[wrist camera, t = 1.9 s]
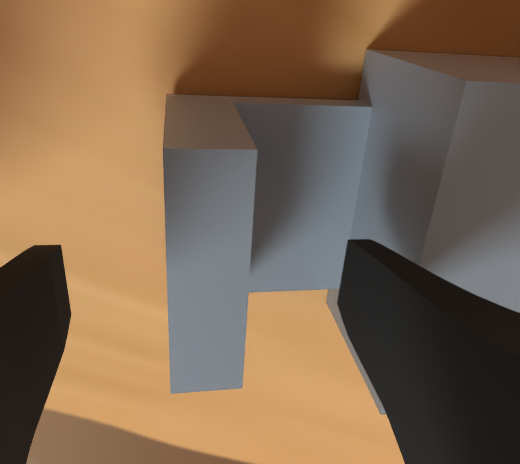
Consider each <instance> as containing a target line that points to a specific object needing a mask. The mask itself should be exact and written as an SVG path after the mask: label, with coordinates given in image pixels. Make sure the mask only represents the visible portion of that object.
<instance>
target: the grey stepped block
mask: <svg viewBox="0 0 520 464" xmlns="http://www.w3.org/2000/svg"><path fill="white" fill-rule="evenodd" d="M163 168H164V199H165V230H166V262H167V293H168V324H169V355H170V387H171V394H174V393H187V392H200V391H213V390H226V389H239V388H242V386H243V370H244V354H245V339H246V323H247V307H248V292H272V291H296V290H320V289H328V296H327V302H326V303H327V305H328V307H329V309H330V311H331V313H332V315H333V317H334V319H335V321H336V323H337V325H338V327H339V330H340V332H341V334H342V336H343V338H344V340H345V342H346V344H347V346H348V348H349V350H350V352H351V354H352V356H353V358H354V360H355V362H356V365H357V367H358V369H359V371H360V373H361V375H362V377H363V379H364V381H365V383H366V385H367V387H368V389H369V391H370V393H371V395H372V397H373V400H374V402H375V404H376V406H377V408H378V410H379V412H380V414H386V412H385V410H384V408H383V405H382V403H381V401H380V399H379V397H378V395H377V393H376V391H375V389H374V387H373V385H372V383H371V381H370V379H369V377H368V375H367V373H366V371H365V369H364V368H363V366H362V364H361V362H360V360H359V358H358V356H357V354H356V352H355V349H354V347H353V345H352V343H351V341H350V339H349V337H348V335H347V332H346V329H345V327H344V324H343V321H342V318H341V314H340V311H339V308H338V305H337V300H338V294H339V288H340V283H341V277H342V271H343V265H344V259H345V253H346V247H347V241H348V240H350V239H371V240H373V241H375V242H378V243H380V244H382V245H384V246H385V247H387V248H389V249H391V250H393V251H394V252H396V253H398V254H400V255H401V256H403V257H405V258H407V259H408V260H410V261H412V262H414V263H415V264H417V265H419V266H421V267H423V268H424V269H426V270H428V271H430V272H432V273H433V274H435V275H437V276H439V277H441V278H443V279H445V280H446V281H448V282H450V283H452V284H454V285H456V286H458V287H460V288H462V289H464V290H466V291H469V292H471V293H473V294H475V295H477V296H479V297H482V298H484V299H486V300H489V301H491V302H494V303H496V304H498V305H501V306H503V307H506V308H508V309H511V310H513V311H516V312H519V313H520V57H504V56H485V55H467V54H448V53H429V52H410V51H392V50H373V49H366V54H365V60H364V67H363V73H362V79H361V86H360V92H359V98H358V100H334V99H303V98H273V97H243V96H212V95H182V94H166V109H165V124H164V139H163Z"/></svg>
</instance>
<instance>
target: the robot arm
mask: <svg viewBox="0 0 520 464" xmlns="http://www.w3.org/2000/svg"><path fill="white" fill-rule="evenodd" d="M337 305H338V308H339V311H340V314H341V318H342V321H343V324H344V327H345V329H346V332H347V335H348V337H349V339H350V341H351V343H352V345H353V347H354V349H355V352H356V354H357V356H358V358H359V360H360V362H361V364H362V366H363V368H364V369H365V371H366V373H367V375H368V377H369V379H370V381H371V383H372V385H373V387H374V389H375V391H376V393H377V395H378V397H379V399H380V401H381V403H382V405H383V408H384V410H385V412H386V414H387V417H388V419H389V421H390V424H391V427H392V429H393V432H394V435H395V437H396V440H397V443H398V446H399V448H400V451H401V454H402V456H403V459H404V462H405V464H520V313H519V312H516V311H513V310H511V309H508V308H506V307H503V306H501V305H498V304H496V303H494V302H491V301H489V300H486V299H484V298H482V297H479V296H477V295H475V294H473V293H471V292H469V291H466V290H464V289H462V288H460V287H458V286H456V285H454V284H452V283H450V282H448V281H446V280H445V279H443V278H441V277H439V276H437V275H435V274H433V273H432V272H430V271H428V270H426V269H424V268H423V267H421V266H419V265H417V264H415V263H414V262H412V261H410V260H408V259H407V258H405V257H403V256H401V255H400V254H398V253H396V252H394V251H393V250H391V249H389V248H387V247H385V246H384V245H382V244H380V243H378V242H375V241H373V240H371V239H350V240H348V241H347V247H346V253H345V259H344V265H343V271H342V277H341V283H340V288H339V294H338V300H337ZM70 318H71V309H70V303H69V296H68V289H67V283H66V276H65V269H64V263H63V256H62V249H61V245H34V246H32V247H30V248H28V249H27V250H25V251H24V252H22V253H21V254H19V255H18V256H16V257H15V258H13V259H12V260H11V261H9V262H8V263H6V264H5V265H3V266H2V267H1V268H0V464H26V462H27V458H28V453H29V449H30V446H31V443H32V440H33V437H34V433H35V430H36V427H37V424H38V422H39V419H40V416H41V414H42V411H43V408H44V405H45V403H46V400H47V397H48V394H49V392H50V389H51V386H52V383H53V380H54V378H55V375H56V372H57V369H58V366H59V363H60V361H61V358H62V355H63V352H64V348H65V344H66V339H67V334H68V329H69V324H70Z"/></svg>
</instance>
